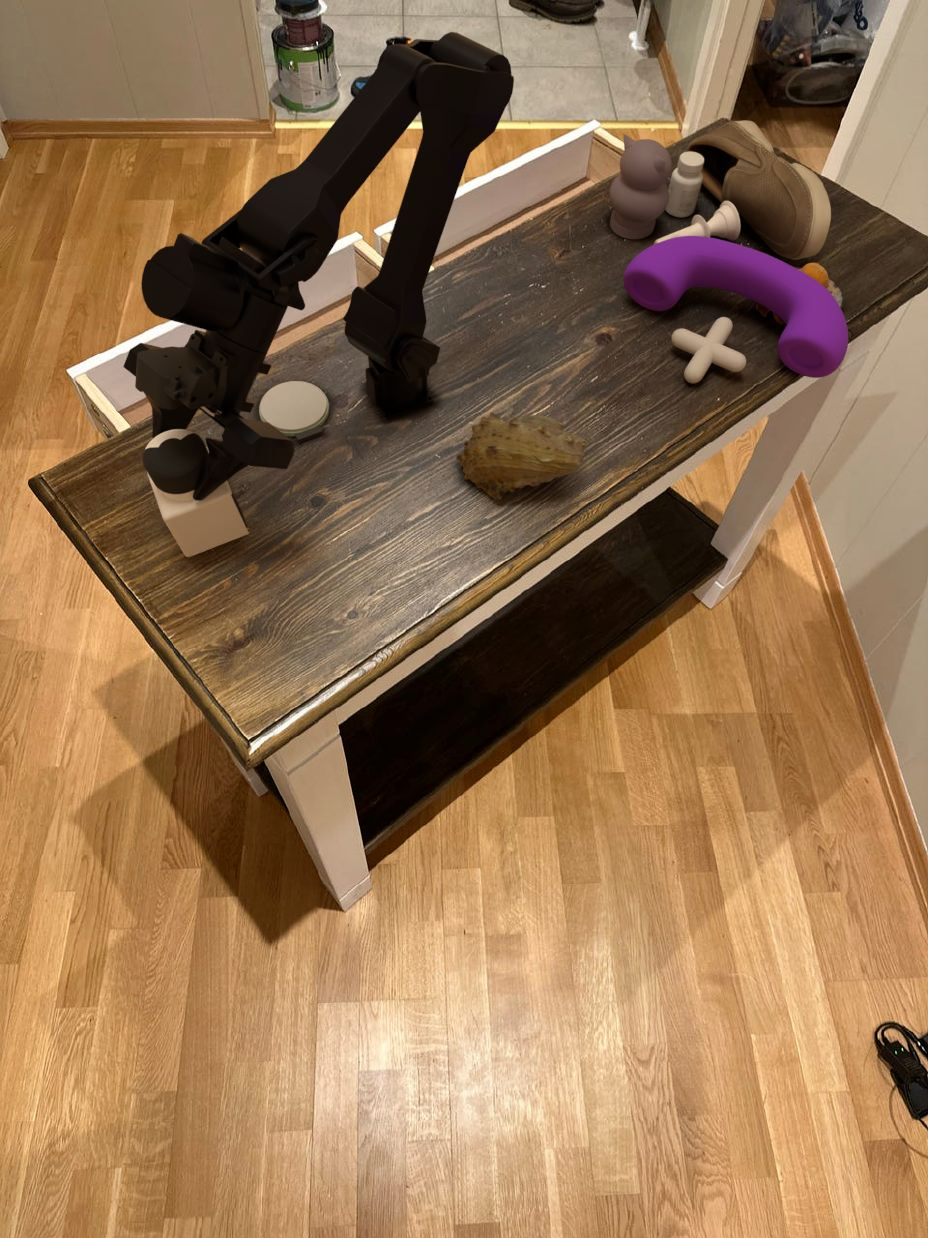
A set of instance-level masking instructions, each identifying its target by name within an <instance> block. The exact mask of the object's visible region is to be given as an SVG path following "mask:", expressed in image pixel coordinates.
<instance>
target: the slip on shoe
mask: <svg viewBox="0 0 928 1238" xmlns="http://www.w3.org/2000/svg"><path fill="white" fill-rule="evenodd" d="M686 152H696V153H698V154H700V155H702V156H703V158H704V164H703V168H702V171H701V173H702V175H703V180H702V184H701V185H702V186H703V187H704V188H705V189H706V190H707V191H708V192H709V193H710V194H711V195H712V196H713V197H714V198H715V199H717V200H718V202H720V203H721V204H722V203H723V202H724V201H729V202H731V203H732V204H733V205H734V206H735V208H736V209H737V211H738V214H739V216H740V217H741V218H742V219H743V220H744V221H745V222H746V223H747V225H748V226H749V227H751V229H752V230H753V232H754V233H755V235H758V236H759V237H760V238H761V239H762V240H763V242H764V243H765V244H766V245H767V246H768V248H769V249H770V250H771V251H773V252H774V253H775V254H777V255H778V256H780V257H782V258H786V259H789V260H794V261H798V260H801V259H806V258H810V257H813V256H816V255H817V254H818V253H820V252H821V249H822V248H823V246H825V245H824V244H825V242H826V239H827V238H828V237H827V236H828V233H829V229H830V226H831V219H832V208H831V202H830V198H829V195H828V192H827V190H826V189H825V186H824V183H823V182H822V180H821V179H820V178H819V176H818V175H817V174H815V173H814V171H812V170H811V169H809V168H807V167H805V166H804V165H802V164H800V163H797V162H793V163H790V162H789V161H788V160H787V159H784V158H783V157H781V156H777V154H776V152H775V151H774V147H773V145H772V144H771V142H769V140H767V138H766V137H765V135H764V133H763V132H762V131H761V129H760V128H759V126H758V125H757V124H756V123H755V122H754V121H752V120H746V119H745V120H735V121H734V120H729V121H728V122H726V123H725V124H723V125H721V126H719V127H717V128H715V129H713V130H710V131H708V132H707V133H706V134H702V135H700V136H698V137H696V138H695V139H693V140H692V141H691V142H689V144H688V145H687V148H686Z"/></svg>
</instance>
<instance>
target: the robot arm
mask: <svg viewBox="0 0 928 1238" xmlns="http://www.w3.org/2000/svg"><path fill="white" fill-rule="evenodd" d="M514 83H515V77H514V75H512V66H511V63H510V61H509V59H508V57H506V56H505V55H504V54H502V53H500V52H497V51H496V50H493V49H491V48H489V47H488V46H486V45H484V44H482V43H479V42H477V41H475V40H473V39H471V38H469V37H467V36H464V35H463V34H461V33H459V32H457V31H450V32H447V33H445V34H443V35H442V36H441V37H440V38H439V39H425V38H423V39H421V38H414V39H413V40H412V41H410V42H409V43H408V44H403V43H393V44H390V45H388V46H386V48H384V49H383V51H382V53H381V55H380V56H379V58H378V62H377V65H376V69H375V71H373V73H372V75H371V76H370V77H369V78H368V79H367V81H366V82H365V83H364V84H363V86H362V87H361V88H360V90H359V91H358V92H357V93H356V95H355V96H354V97H353V98H352V100H351V101H350V102H349V103H348V105H347V106H346V107H345V109H344V110H343V111H342V113H340V115H339V116H338V118H337V119H335V121H334V122H333V124H332V125H331V126H330V127H329V129H328V130H327V131H326V133H325V134H324V135H323V136H322V137H321V139H320V140H319V141H318V143H317V144H316V145H315V146H314V148H313V149H312V150H311V152H310V153H309V154H308V155H307V157H306V158H305V159H304V160H303V161H302V162H301V163H300V164H299V165H298V166H297V167H296V168H294V169H291V170H290V171H288V172H284V173H282V174H280V175H277V176H274V177H272V178H270V179H269V180H268V181H267V182H266V183H265V184H264V185H262V187H260V188H259V189H258V190H256V192H255V193H254V194H253V195H252V196H251V197H250V198H248V200H247V201H246V202H245V203H244V204H243V206H242V207H241V209H240V210H238V211H237V212H236V213H235V214H233V215H232V216H231V217H229V218H228V219H227V220H226V221H224V222H223V223H222V224H221V225H219V226H218V227H216V228H215V229H214V230H213V231H212V232H211V233H210V234H207V236H205V237H204V238H203V239H202V240H201V243H200V242H199V241H198V240H196V239H195V238H194V237H192V236H190V235H188V234H184V233H183V232H180V233H178V234H177V236H176V238H175V241H174V244H173V245H170V246H169V245H168V246H167V245H166V246H164V247H161V248H160V249H158V250H157V251H156V252H155V253H154V254H153V255H152V256H151V258H150V259H147V260H146V263H145V264H144V267H143V270H142V275H141V294H142V298H143V302H144V303H145V305H146V307H147V309H148V310H149V311H150V312H151V313H152V314H153V315H154V316H156V317H159V318H160V319H161V318H162V319H165V320H169V321H172V322H176V323H179V324H183V325H187V326H191V327H194V328H198V329H200V330H198V329H194V333H191V334H190V336H189V339H188V341H187V342H186V343H185V345H184V346H165V347H161V346H156V345H152V344H148V343H145V342H144V343H143V342H139V343H138V344H136V345H135V346H134V347H132V348H130V349H129V351H128V353H127V355H126V359H125V361H124V364H123V368H124V369H125V370H127V371H128V372H129V373H130V374H131V375H133V377H135V384H134V386H135V389H136V391H137V390H138V391H139V392H140V393H143V394H144V395H145V397H146V400H147V401H148V403H149V404H150V406H151V414H152V416H151V417H152V435H151V436H152V437H151V440H152V439H153V438H155V437H156V436H157V435H159V434H161V433H163V432H166V431H169V430H174V429H183V430H187V428H189V425H190V424H191V422H192V420H193V419H194V417H195V415H196V414H197V413H198V411H199V410H200V411H202V413H204V414H205V415H206V416H207V417H209V418H210V419H212V420H213V421H214V422H215V423H216V424H218V425H219V426H220V427H222V428H223V429H224V430H223V432H222V434H221V439H220V438H213V437H212V438H211V437H205V444H206V447H208V450H209V455H208V457H207V460H206V462H205V465H204V467H203V469H202V472H201V474H200V477H199V479H198V482H197V484H196V487H195V490H194V494H193V499H194V500H197V501H201V500H203V499H205V498H206V497H207V496H208V495H210V494H211V493H212V492H213V491H215V490H216V489H217V488H218V487H219V486H221V485H222V484H223V483H224V482H226V481H227V480H230V479H231V478H232V477H233V476H234V475H236V474H238V472H241V470H244V469H245V468H246V467H248V466H250V467H256V468H257V467H258V468H267V469H279V470H288V468H289V466H290V465H291V462H292V460H293V458H294V455H295V451H296V450H295V445H294V441H293V440H292V439H291V438H290V437H289V436H286V435H284V434H283V433H282V432H280V431H279V430H278V429H276V428H275V427H274V426H273V425H271V424H270V423H267V422H262V421H261V420H253V419H249V418H248V419H247V418H244V417H243V416H242V415H241V412H244V413H250V414H251V412H252V411H253V408H254V406H255V403H254V401H251V399H249V398H248V397H249V395H250V393H251V391H252V389H253V386H254V384H255V382H256V379H257V377H258V375H259V374H263V375H265V376H268V375H269V372H270V370H271V368H272V364H271V363H269V362H268V361H266V357H267V355H268V351H269V350H270V348H271V345H272V343H273V341H274V339H275V337H276V334H277V332H278V330H279V327H280V326H281V323H282V321H283V319H284V316H285V315H286V312H287V310H288V308H293V309H295V310H298V311H304V309H305V308H306V303H305V300H304V297H303V296H302V293H301V291H300V282H303V283H307V282H308V281H310V280H311V279H312V278H313V277H314V276H315V275H316V274H317V273H318V272H319V271H320V269H321V267H322V265H323V264H324V262H325V261H326V259H327V257H328V256H329V254H330V253H331V251H332V249H333V248H334V246H335V245H336V243H337V241H338V239H339V233H340V226H341V225H340V224H341V218H342V214H343V212H344V211H345V210H346V209H345V208H346V207H347V206H348V204H349V202H350V201H351V200H352V199H353V198H354V196H355V195H356V194H357V192H358V191H359V190H360V189H361V188H362V186H363V185H364V183H366V181H367V180H368V178H369V177H371V175H372V173H373V172H374V170H376V169H377V167H378V166H379V164H380V163H381V162H383V160H384V158H386V156H387V155H388V153H389V152H390V151H391V150H392V149H393V147H394V145H396V143H397V142H398V141H399V139H400V138H401V136H402V135H403V134H404V133H405V131H407V129H408V128H409V127H410V125H411V124H412V123H413V121H414V120H415V119H416V118H417V116H418V115H419V114H420V119H421V127H422V134H421V139H420V142H419V145H418V149H417V152H416V155H415V157H414V161H413V165H412V168H411V171H410V174H409V178H408V180H407V183H406V186H405V190H404V193H403V196H402V200H401V202H400V206H399V209H398V212H397V215H396V218H395V221H394V225H393V228H392V230H391V231H392V232H391V234H390V238H389V240H388V244H387V247H386V249H385V253H384V257H383V259H382V262H381V266H380V269H379V272H378V274H377V276H375V277H374V278H372V280H371V281H369V282H368V283H367V284H366V285H365V286H364V287H361V286H359V285H358V286H356V287H355V288H354V289H353V291H351V296H350V297H351V298H350V302H349V306H348V308H347V311H346V312H345V314H344V316H343V318H342V320H343V321H344V323H345V324H344V336H346V339H347V341H348V343H349V344H350V345H351V346H353V347H354V348H355V349H356V350H358V351H360V353H362V354H364V355H366V356H367V360H368V361H367V362H368V367H366V368H365V381H366V383H365V389H366V391H367V395H368V397H369V399H370V400H371V401H372V403H373V404H374V407H377V408H379V410H380V412H381V413H382V415H383V416H384V417H385V419H387V420H392V419H394V418H398V417H399V416H402V415H404V414H408V413H410V412H413V411H416V410H418V409H421V408H425V407H426V406H429V405H432V404H433V403H434V402H435V398H434V396H433V394H432V393H431V391H430V390H429V388H428V387H429V386H428V384H429V383H428V377H429V376H430V370H431V368H432V367H433V366H435V365H437V362H438V358H439V355H440V352H441V347H440V346H439V345H437V344H436V343H434V342H432V341H431V340H429V339H428V338H426V337H425V336H424V334H425V331H426V327H427V323H428V322H427V321H428V320H427V314H426V309H425V307H426V306H425V302H424V301H425V300H424V295H423V294H424V293H423V291H424V287H425V284H426V281H427V279H428V276H429V273H430V269H431V267H432V265H433V261H434V258H435V256H436V253H437V250H438V246H439V244H440V241H441V238H442V235H443V232H444V230H445V227H446V223H447V221H448V218H449V215H450V213H451V209H452V207H453V204H454V201H455V198H456V194H457V192H458V189H459V186H460V184H461V180H462V178H463V175H464V172H465V169H466V167H467V163H468V160H469V158H470V155H471V153H472V152H473V151H474V150H476V148H478V147H479V146H480V145H481V144H483V142H485V141H486V140H487V139H488V138H489V137H490V136H491V135H492V134H494V133H495V132H496V130H497V128H498V125H499V122H500V120H501V119H502V116H503V114H504V112H505V110H506V107H507V106H508V104H509V103H510V102H511V98H512V95H513V92H514ZM202 330H205V331H202Z"/></svg>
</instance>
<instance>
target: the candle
mask: <svg viewBox="0 0 928 1238" xmlns="http://www.w3.org/2000/svg"><path fill="white" fill-rule="evenodd" d="M741 227H742V226H741V218H740V215H739V214H738V211H737V209H736V208H735V206H734V205H733V204H732V203H731V202H729V201H724V202H723V203H721V204H720V205H719V208H718V209H717V210H716V211H714V213H713V216H712V217H711V218H710V219H709V220H708V221H706V219H705V218H704V216H701V215H700V214H695V215H694V216H693V217H692V218H691V223H690V225H689V226H687V227H685V228H684V227H683V228H682V229H679V230H677V231H674V232H671V233H669V234H667V235H665V236H661V237H660V238H657V239H655V241H654V243H653V245H655V244H657V243H659V242H662V241H665V240H668V239H671V238H675V237H681V236H702V237H709V238H711V236H712V237H719V238H720V239H727V240H729V241H730V242H731V241H736V240H737V239H738V238H739V236H740V233H741V229H742V228H741Z"/></svg>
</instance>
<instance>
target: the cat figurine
mask: <svg viewBox="0 0 928 1238" xmlns="http://www.w3.org/2000/svg"><path fill="white" fill-rule="evenodd" d="M622 134H623V135H622V136H623V147H624V148H623V149H624V150H623V152H622V154H621V155H620V156H621V157H620V160H619V171H620V173H619V174H618V175H617V176H616V177H615V178H614V179H613V181H612V183H611V185H610V188H609V202H610V205H611V206H612V208H613V210H612V211H611V214H610V215H611V216H610V220H609V227H610V228H611V231H612V232H614V233H615V234H616V235H617V236H619V237H621V238H623V239H628V240H641V239H644V238H648V237H649V236H650V235H651V234H652V233H653V232H654V230H655V225H656V219H657V218H659V217H660V216H661V215H662V214H664V212H665V211H666V210H665V209H666V206H667V204H668V201H669V193H668V189H669V187H668V185H667V184H666V182H667V180H668V178H669V176H670V174H671V171H672V159H671V155H670V153H669V151H668V149H666V147H665V146H664V145H663V144H662V143H660V142H659V141H656V140H654V139H651V138H643V139H638V140H634V139H633V138H632V137H630V136H628V135H627V134H625V133H622Z"/></svg>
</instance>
